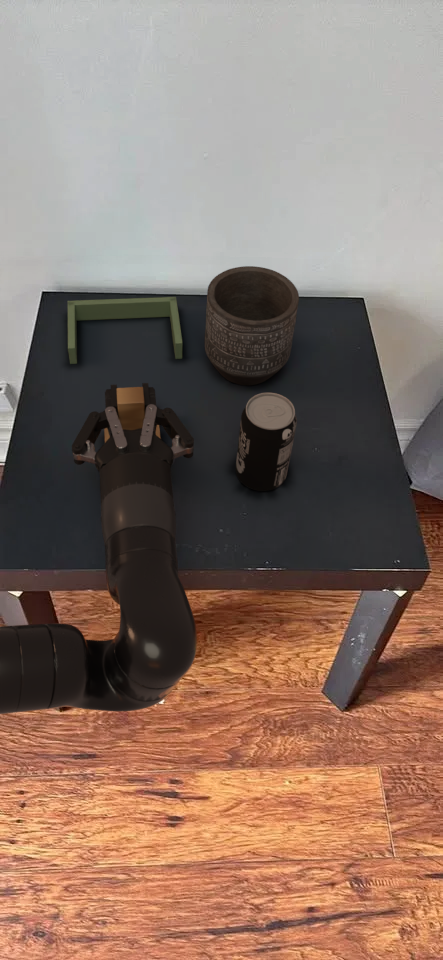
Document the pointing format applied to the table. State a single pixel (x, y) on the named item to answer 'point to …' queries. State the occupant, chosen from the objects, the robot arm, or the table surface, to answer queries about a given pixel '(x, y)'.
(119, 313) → the corral
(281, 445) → the beverage can
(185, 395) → the table surface
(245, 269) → the planter
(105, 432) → the stamp
